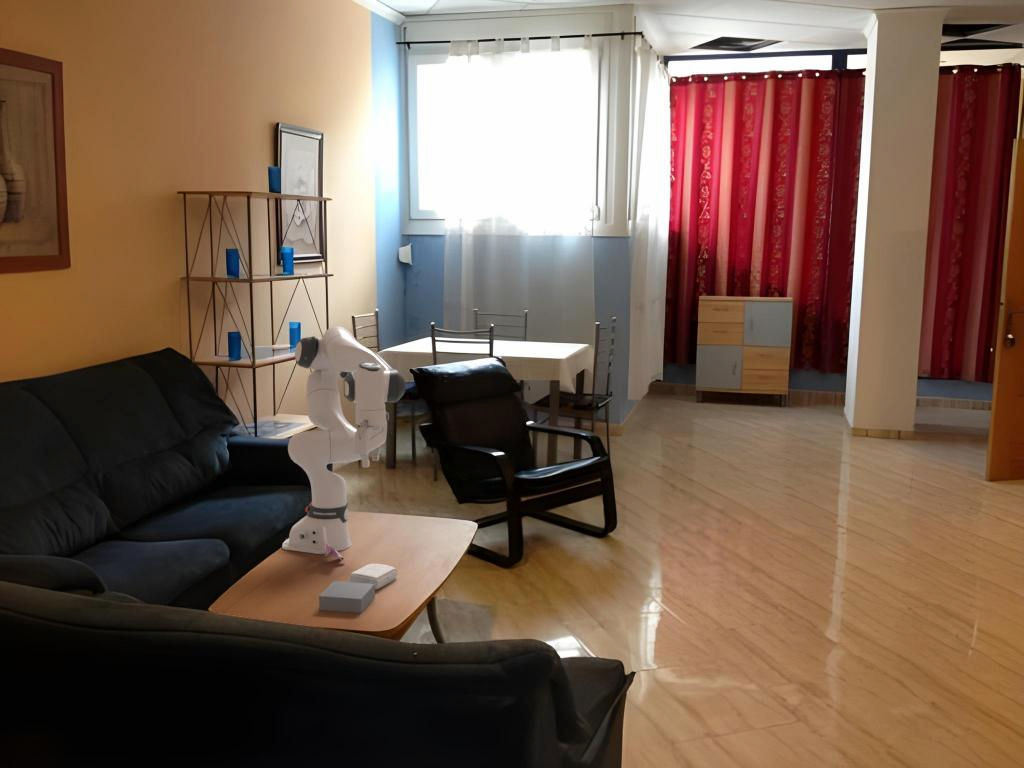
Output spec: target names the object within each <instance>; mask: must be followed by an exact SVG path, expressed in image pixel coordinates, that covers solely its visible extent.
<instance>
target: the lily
mask: <svg viewBox="0 0 1024 768" xmlns="http://www.w3.org/2000/svg"><path fill="white" fill-rule="evenodd" d="M321 535H322V534H321ZM322 536H323V535H322ZM323 537H324V536H323ZM324 539H325V538H324ZM323 541H324V540H323ZM325 541H326V543H327V544H326V553H325V554H324V557H322V560H321V562H320V565H322V563H323V562H324V559H325V558H326V557H327V556H333V557H336V558H338V559H339V560H341V562H342V563H343V564H344V565H346V564H345V562H344V560H342V558H343V559H345V558H344V557H343V556H342V555H341V553H339V551H336V550H334V548H335V547H334V548H332V547H331V546H329V544H328V542H327V540H326V539H325ZM325 541H324V542H325ZM336 547H337V546H336ZM335 549H336V548H335Z"/></svg>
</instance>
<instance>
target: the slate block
mask: <svg viewBox="0 0 1024 768" xmlns="http://www.w3.org/2000/svg"><path fill="white" fill-rule="evenodd" d="M375 590H376V589H375V584H368V583H354V582H349V581H340V580H339V581H336V580H334V581H332V582H331V584H330V585H329V586H328V587H326V589H324V590H323V591H322V592H321V593H320V594H319V595H318V609H319V611H329V612H342V613H353V614H356V613H357V614H363V612H364V611H365V610H366V608H367V607H368V606H369V605H370V604H371V602H372V601H374V599H375V597H376V596H375V595H376V593H375V592H376V591H375Z"/></svg>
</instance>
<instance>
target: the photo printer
mask: <svg viewBox="0 0 1024 768" xmlns="http://www.w3.org/2000/svg"><path fill="white" fill-rule="evenodd" d="M397 576H398V569H397V568H395V567H394V566H391V565H388V564H382V563H369V564H366V565H364V566H362V567H360V568H359V569H357V570H354V571H352V572H351V573H350V575H349V576H348V582H354V583H368V584H375V590H379V589H381V588H382V587H384V586H386V585H388V584H389V583H390V584H391V582H393V581H395V580H396V578H397Z"/></svg>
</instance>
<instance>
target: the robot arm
mask: <svg viewBox="0 0 1024 768" xmlns="http://www.w3.org/2000/svg"><path fill="white" fill-rule="evenodd" d="M323 333H324V334H323V335H322V337H316V336H315V335H314V336H305V337H303V338H301V339H300V340H298V341H297V344H296V346H295V349H294V359H295V362H296V364H297V365H298V366H299V367H301V368H303V369H312V371H311V372H310V373H309V374H308V376H307V379H306V380H307V381H306V389H305V390H306V392H305V393H306V405H307V415H308V419H309V421H310V422H311V423H312V425H314V426H315V427H316V428H319V429H322V430H305V431H302V432H298V433H294V434H293V435H292V437H290V439H289V440H288V441H289V442H288V444H287V451H288V455H289V457H290V459H291V460H292V461H293V462H294V463H295V464H297V465H298V466H299V467H300V468H302V470H303V471H304V472H305V473H306V475H307V477H308V480H309V482H310V487H311V502H310V503H309V504H308V505H307V506H306V508H305V510H304V511H305V513H306V515H305V516H304V517H303V518H301V519H299V521H297V522H296V523H295V524H294V525H293V526H292V527H291V529H290V531H289V536H288V538H286V539H285V540H284V542H282V545H281V546H282V549H283V550H286V551H287V550H288V551H292V552H293V551H295V552H300V553H301V552H302V553H308V554H316V555H326V544H327V543H326V541H325V539H326V540H327V542H328V544H329V546H331V547H332V548H334V547H335V548H336V549H335V548H334V550H336V551H337V552H340V551H343V550H344V551H345V550H346V549H349V548H350V547H352V540H351V538H350V533H349V527H348V520H349V519H348V518H349V508H348V507H349V506H348V502H347V482H346V481H345V478H344V477H343V476H341V475H339V474H338V473H335V472H333V471H330V469H329V470H328V467H327V465H329V464H343V463H347V464H348V463H353V462H356V461H361V462H362V465H361V467H362V468H366V469H367V468H370V462H371V461H372V462H373V461H374V462H378V461H379V460H380V452H381V446H382V445H384V444H385V443H386V441H387V433H388V420H389V419H390V415H389V412H387V411H386V403H397V402H398V401H400V399H401V398H402V397H403V396H404V394H406V393H405V392H406V381H405V377H404V376H403V375H402V374H401V373H400V372H399V371H398V370H397V369H394V368H393V367H392V366H391V365H389V364H388V363H387V362H386V361H385V360H384V359H383V358H382V357H381V356H380V355H379V354H378V353H377V352H376V351H374V350H371V349H369V348H368V347H366V346H365V345H363V344H361V343H360V342H358V341H357V339H356V337H354V336H355V335H353V334H352V333H351V332H350V331H349V330H348V329H346V328H345V327H343V326H340V325H333V326H331V327H329V328H328V329H326V331H325V332H323ZM340 377H341V379H343V395H344V398H346V399H347V401H349V402H351V403H354V404H356V405H355V409H354V410H355V425H357V426H359V427H358V428H356V427H354V426H353V425H352V424H351V423H349V421H348V420H347V419H346V417H345V415H344V412H343V409H342V404H341V403H342V402H341V396H340V390H339V384H338V380H339V378H340ZM371 452H372V455H371V459H372V460H371V461H370V460H369V455H370V453H371ZM321 534H322V535H323V536H324V537H323V536H322V535H321ZM324 538H325V539H324ZM323 540H324V541H325V542H324V541H323ZM336 546H337V547H336Z"/></svg>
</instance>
